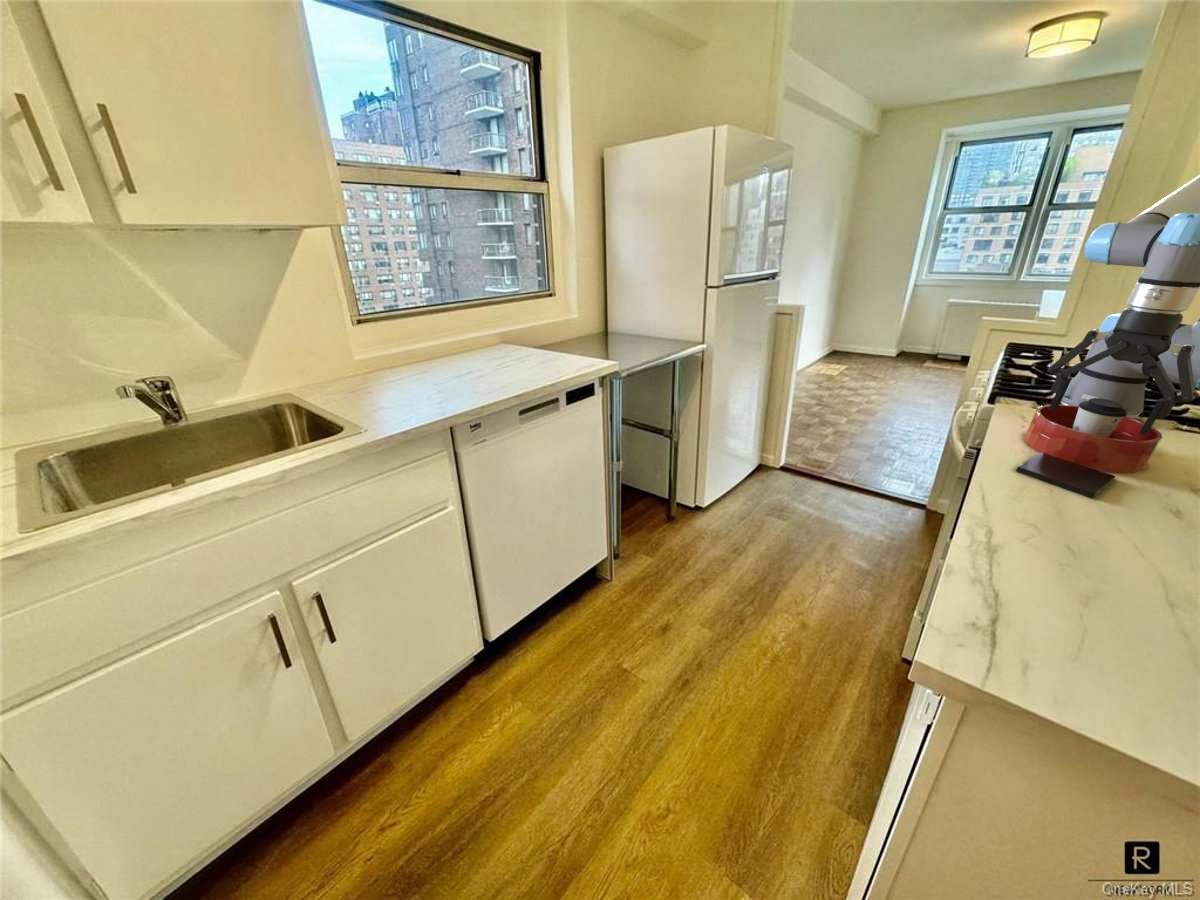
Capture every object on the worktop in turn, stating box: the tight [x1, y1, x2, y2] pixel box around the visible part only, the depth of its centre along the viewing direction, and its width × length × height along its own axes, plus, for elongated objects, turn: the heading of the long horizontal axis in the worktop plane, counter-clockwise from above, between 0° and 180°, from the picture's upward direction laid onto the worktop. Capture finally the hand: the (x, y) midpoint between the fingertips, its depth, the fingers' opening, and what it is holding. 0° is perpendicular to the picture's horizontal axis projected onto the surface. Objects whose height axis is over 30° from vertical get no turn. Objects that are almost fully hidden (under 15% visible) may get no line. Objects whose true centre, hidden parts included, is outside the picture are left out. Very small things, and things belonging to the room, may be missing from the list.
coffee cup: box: [1072, 398, 1127, 438], centre depth 95 cm, size 7×7×10 cm
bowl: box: [1023, 404, 1163, 474], centre depth 96 cm, size 18×18×6 cm
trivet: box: [1015, 452, 1116, 499], centre depth 88 cm, size 11×11×1 cm
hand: (1095, 420), depth 95 cm, fingers open, 13 cm apart
